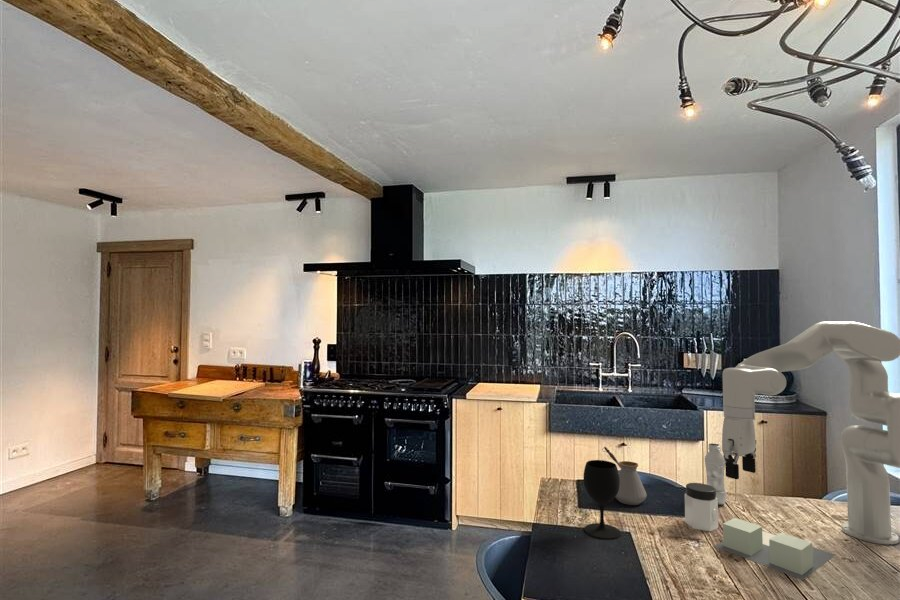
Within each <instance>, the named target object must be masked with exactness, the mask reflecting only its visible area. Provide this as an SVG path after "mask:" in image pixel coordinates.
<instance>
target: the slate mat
mask: <svg viewBox="0 0 900 600" xmlns="http://www.w3.org/2000/svg"><path fill="white" fill-rule="evenodd" d="M776 535H777V534H774V533H771V532H767V531H765V530H762V538H763V549H762V550H760V551H758V552H757V553H755V554H753V555H752V556H750V555H747V554H744V553H742V552H739V551H736V550H734V549H731V548H728V547H726V546H723V540H722V541H720V542H718V543H716V544H715V545H713V547H714V548H718V549H720V550H722V551H725V552H728V553H730V554H734V555H736V556H738V557H742V559H743V558H744V559H746V560H748V561H751V562H754V563H757V564H759V565H762V566H764V567H767V568H770V569H772V570H775V571H777V572H781V573H782V574H786V575H788V576H791V577H793V578H796V579H798V580H801V581H804V580H805V579H807V578H808V577H809V576H811V575H812V574H813V573H815V572H816V571H817V570H818V569H819V568H821V567H822V566H824V565H825V564H826V563H827V562H829V560H831V559H832V558H834V557H835V556H836V555H837V554H835V553H832V552H829V551H826V550H823V549H820V548H817V547H813V546H812V547H813V567H812V568H811V569H810V570H808V571H807V572H806V573H804V574H803V575H800V574H798V573H795V572H792V571H790V570H787V569H784V568H782V567H779V566H776V565H774V564H771V563H770V546H769V539H771V538H772V537H774V536H776Z"/></svg>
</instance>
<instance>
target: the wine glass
mask: <svg viewBox="0 0 900 600" xmlns="http://www.w3.org/2000/svg"><path fill="white" fill-rule="evenodd" d="M583 486H584V489H585V491H586V493H587V494H588V496H589V497H590V498H591V499H592V501H594V502H595V503H596V504H598V505H599V513H600V514H599V516H600V519H599V520H600V522H597V523H594V522H593V523H589V524H586V525H584V532H585V533H586V534H587V535H588V536H590V537H592V538H594V537H595V539H598V538H599V539H598V540H603V539H612V540H616V539H619V538H620V537H619V536H621V531H620V530H619V528H617V527H615V526H613V525H610V524H606V523H605V519H604V515H605V514H604V513H605V506H606V505H607V504H608V503H610V502H612V501H613V500H614V499H616V498H615V496H616V495H617V493H618V491H619V486H620V478H619V470H618V465H617V463H614V462H612V461H609V460H603V459H591V460H588V461H586V462H585V465H584V471H583Z"/></svg>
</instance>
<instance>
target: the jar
mask: <svg viewBox="0 0 900 600" xmlns="http://www.w3.org/2000/svg"><path fill="white" fill-rule="evenodd" d="M718 506H719V505H718V499H717V498H716V490H715V488H714V487H712V486H710V485H707V483H702V482H689V483H686V484H685V493H684V523H685V524H686V525H688V526H689V527H691V528H692V529H694V530H700V531H706V532H712V531H716V530H717V529H719V511H718V510H719V507H718Z"/></svg>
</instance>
